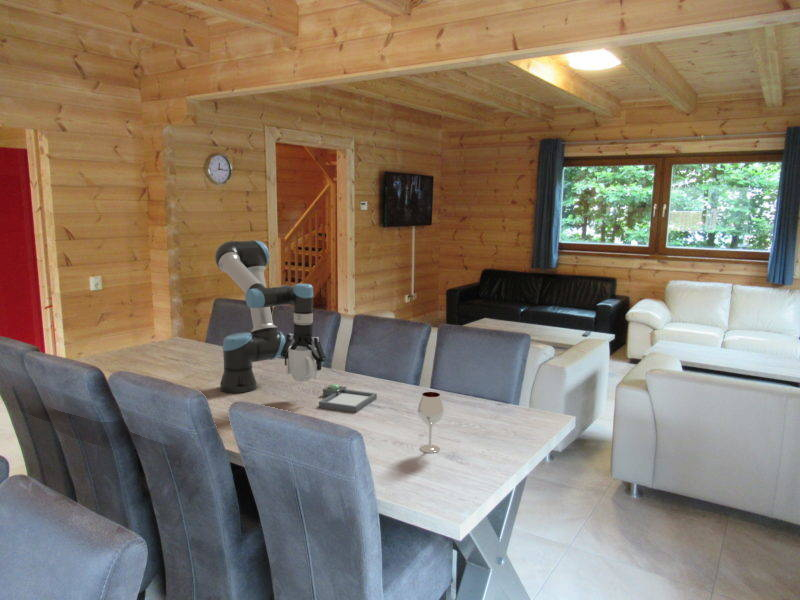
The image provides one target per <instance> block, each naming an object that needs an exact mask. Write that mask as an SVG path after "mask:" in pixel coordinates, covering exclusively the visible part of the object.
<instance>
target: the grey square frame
mask: <svg viewBox="0 0 800 600" xmlns="http://www.w3.org/2000/svg"><path fill="white" fill-rule="evenodd" d="M344 389H346V390H347V387H346V386H342V385H339V389H338V390H332V389H330V385H329V386H326V387H325V388H323V389H322V397H325V398H326V397H328V396H330V395H332V394H333V393H337V396H339V395H340V394H342V393H344Z"/></svg>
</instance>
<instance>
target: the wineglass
mask: <svg viewBox="0 0 800 600" xmlns="http://www.w3.org/2000/svg"><path fill="white" fill-rule="evenodd" d="M442 400H443V399H442V397H441V393H439V392H436V391H426V392H422V393H421V397H420V399H419V404H418V408H417V415H418V417H419V418H420V420H421V421H422V422H423V423H425V425H427V426H428V444H424V445H421V446H420V448H419V450H420V451H421V452H423V453H427V454H435V453H439V452H440V451H441V450H440V449H441V448H440V447H439V446H437V445H435V444H432V434H433V433H432V430H433V426H434V425H436V424H437V423H438V422H440V421H441V419H443V416H444V413H445V411H444V405H443V401H442Z"/></svg>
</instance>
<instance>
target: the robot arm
mask: <svg viewBox="0 0 800 600" xmlns="http://www.w3.org/2000/svg"><path fill="white" fill-rule="evenodd" d="M216 249H217V250H215V254H214V260H215V264H216V267H218V269H220V271H221V272H224V273H226V274H227V275H228V276H229V277H230V278H231V279H232V281H233V282H234V283H235V284H236V285H237V286H238V287H239V288H240V289H241V290H242V292H244V294H245V295H244V300H245V302H246V306H247V307H248V308H249V309H250V310H249V311H250V315H251V321H252V326H253V328H252V329H251V331H250V332H248V331H247V332H246V331H243V332H235V333H231V334H229V335H227V336H226V337H224V339H223V342H222V343H223V344H222V345H223V346H222V352H223V353H222V354H223V373H222V375H221V376H222V377H221V380H220V383H219V389H220V391H221V392H223V393H229V394H240V393H247V392H252V391H253V390H254V391H255V390H256V389H257V388H258V386H257V385H258V382H257V380H256V377H255V374H254V371H253V363H256V362H257V363H258V362H261V361H262V362H263V361H269V360H270V361H271V360H276V359H279V358H281V357H283V358H284V366H286V373H285V374H286V375H291V372H290V368H289V354H288V353H289V347H290V346H291V348H290V349H292V350H295V349H296V348H297V346H303V347H307V349H309V350H311V351H312V356H313V357H314V359H315V360H316V362H315V370H314V374H313V376H314V377H313V378H314V380H316V379H319V378H320V372H321V370H322V362H325V361H326V360H327V356H326V355H325V352H324V350H323V347H322V344H321V339H320V338H321V337H320V336H313V331H314V325H313V324H314V323H313V322H314V289H313V288H314V286H313V285H312V284H310V283H296V284H294V285H291V284H290V285H289V284H283V285H281V286H277V287H275V286H274V287H273V286H272V287H267V283H266V278H265V271H266V270H267V266H268V265H269V263H270V251H269V249H268V247H267V246H266V244H265V243H264V242H262V241H259V240H253V239H252V240H236V241H235V240H230V241H226V242H223V243H222V244H221V245H219V247H217V248H216ZM278 306H279V307H280V306H293V323H294V324H293V333H287V334H286V337H285V335H284V333H283V332H282V331H279V329H278V326H277V325H275V324H274V321H273V316H272V312H271V310H272V309H271V307H278ZM293 339H294V340H293ZM292 341H294V342H293V343H292ZM291 343H292V345H291ZM314 346H315V347H316V349H315V348H314Z"/></svg>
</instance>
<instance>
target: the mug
mask: <svg viewBox="0 0 800 600" xmlns="http://www.w3.org/2000/svg"><path fill="white" fill-rule="evenodd" d="M291 346H292V345H290V346H289V348H288V350H289V353H288V354H289V368H290V372H291V373H290V375H291V376H292V378H293V380H294V381H296V382H306V381H307V382H308V381H311V380H312V378H313V376H314V370H315V362H316V360H315V359H314V357H313V356H312V351H311V350H309V349H307V347H303V346H297V348H296V349H295V350H292V349H290V348H291ZM314 348H315V349H316V347H315V345H314Z"/></svg>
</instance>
